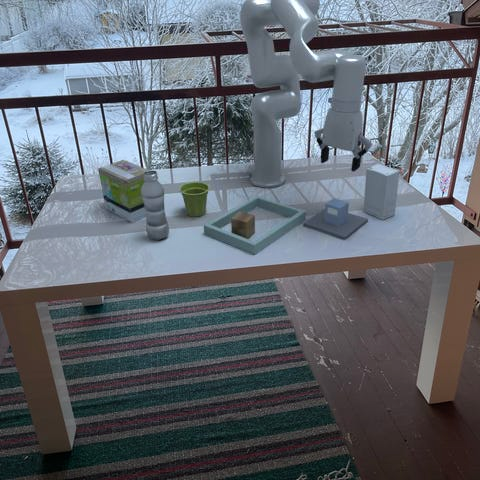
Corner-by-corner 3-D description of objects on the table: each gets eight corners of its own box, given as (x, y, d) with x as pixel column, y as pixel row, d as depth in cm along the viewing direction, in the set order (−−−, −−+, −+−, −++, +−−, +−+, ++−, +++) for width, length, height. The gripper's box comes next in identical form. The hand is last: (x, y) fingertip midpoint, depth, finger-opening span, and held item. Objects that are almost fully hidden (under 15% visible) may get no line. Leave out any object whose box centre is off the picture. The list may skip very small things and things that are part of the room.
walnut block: (231, 236, 137) (231, 218, 134) (240, 229, 141) (239, 211, 138) (246, 240, 135) (246, 222, 132) (254, 233, 139) (254, 214, 136)
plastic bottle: (160, 244, 134) (152, 179, 124) (142, 238, 137) (132, 174, 127) (174, 234, 139) (167, 171, 128) (156, 229, 142) (148, 166, 132)
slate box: (324, 221, 141) (325, 203, 138) (332, 215, 145) (334, 197, 142) (338, 226, 139) (340, 208, 136) (347, 220, 142) (349, 202, 139)
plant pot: (216, 209, 153) (214, 184, 148) (202, 221, 145) (200, 196, 141) (191, 204, 156) (189, 180, 152) (176, 216, 149) (173, 191, 144)
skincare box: (394, 215, 146) (402, 170, 138) (381, 221, 143) (388, 175, 136) (374, 206, 152) (380, 162, 144) (361, 211, 149) (366, 166, 142)
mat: (303, 226, 141) (303, 223, 141) (327, 209, 151) (327, 206, 150) (345, 240, 134) (345, 237, 133) (367, 221, 143) (368, 218, 142)
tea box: (104, 209, 154) (96, 167, 147) (129, 199, 161) (123, 158, 153) (131, 223, 145) (124, 179, 138) (157, 212, 152) (152, 169, 144)
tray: (204, 234, 139) (203, 225, 137) (257, 203, 155) (257, 195, 154) (254, 254, 128) (254, 245, 127) (305, 219, 145) (305, 211, 143)
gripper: (310, 102, 127) (306, 162, 136) (369, 114, 117) (361, 177, 126) (324, 96, 132) (320, 154, 141) (383, 107, 122) (373, 169, 131)
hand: (339, 165), depth 133 cm, fingers open, 9 cm apart
